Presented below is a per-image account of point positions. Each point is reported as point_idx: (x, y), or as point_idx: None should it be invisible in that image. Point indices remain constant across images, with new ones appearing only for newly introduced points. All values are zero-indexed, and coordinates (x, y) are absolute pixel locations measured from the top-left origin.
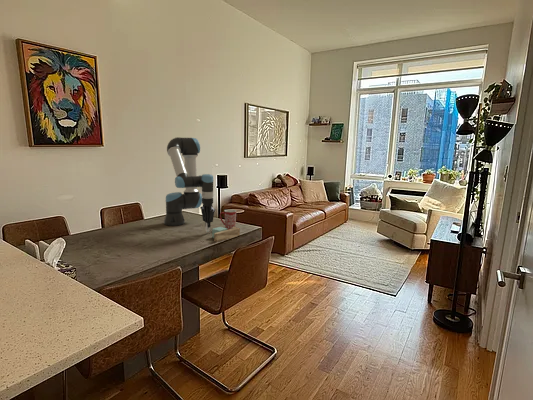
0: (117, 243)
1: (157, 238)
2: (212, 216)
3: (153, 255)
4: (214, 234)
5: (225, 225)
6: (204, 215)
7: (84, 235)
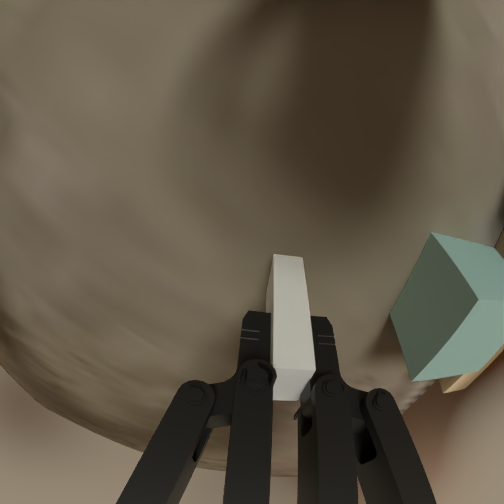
0: (131, 433)
1: (142, 407)
2: (412, 488)
3: (292, 455)
4: (443, 386)
5: None
6: (182, 485)
7: (40, 399)
